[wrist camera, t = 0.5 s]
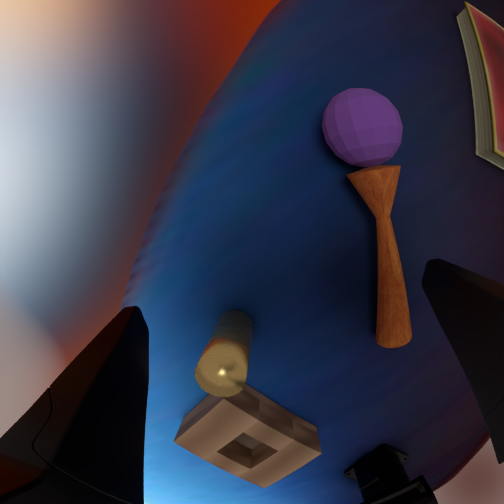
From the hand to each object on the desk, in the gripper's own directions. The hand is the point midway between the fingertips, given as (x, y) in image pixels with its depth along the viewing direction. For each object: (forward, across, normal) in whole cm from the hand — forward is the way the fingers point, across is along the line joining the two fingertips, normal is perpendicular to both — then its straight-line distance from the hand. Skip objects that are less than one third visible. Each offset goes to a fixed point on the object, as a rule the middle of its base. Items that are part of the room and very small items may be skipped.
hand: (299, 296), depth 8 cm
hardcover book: (+15, -31, -9) cm, 36 cm away
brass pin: (+11, +2, +12) cm, 16 cm away
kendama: (+13, -10, +4) cm, 17 cm away
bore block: (+7, +2, +22) cm, 23 cm away
